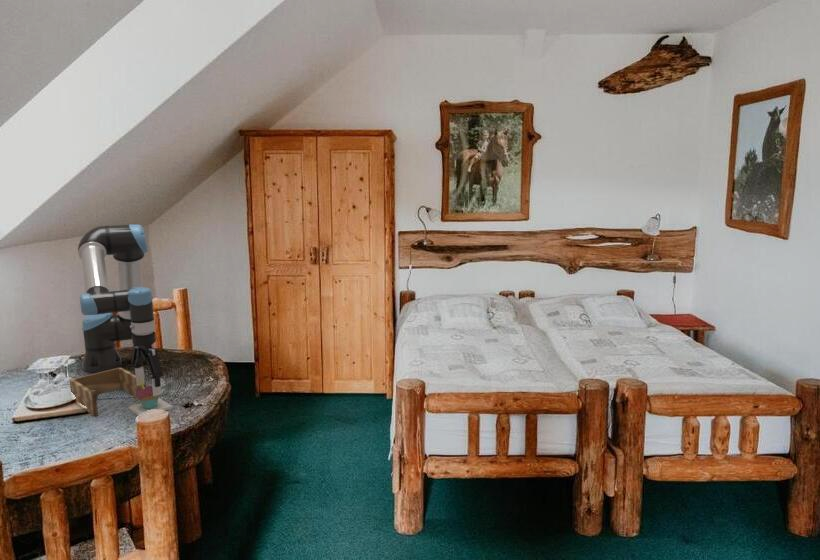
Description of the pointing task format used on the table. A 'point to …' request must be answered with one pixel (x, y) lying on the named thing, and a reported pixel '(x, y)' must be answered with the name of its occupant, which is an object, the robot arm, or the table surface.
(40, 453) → the table surface
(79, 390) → the brown open-sided frame
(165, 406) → the plate
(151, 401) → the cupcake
